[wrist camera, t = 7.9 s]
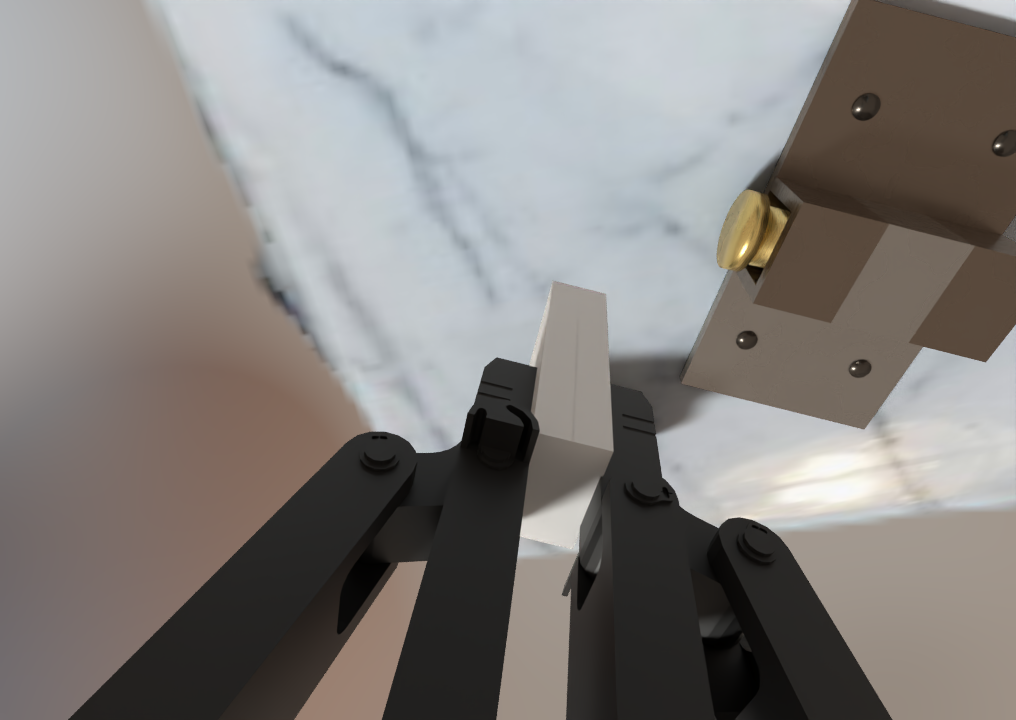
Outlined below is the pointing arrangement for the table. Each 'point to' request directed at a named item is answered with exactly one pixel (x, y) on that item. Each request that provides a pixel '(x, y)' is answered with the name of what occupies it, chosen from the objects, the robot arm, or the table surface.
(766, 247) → the pin
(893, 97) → the square tube base plate
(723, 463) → the table surface
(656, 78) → the table surface
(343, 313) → the table surface
